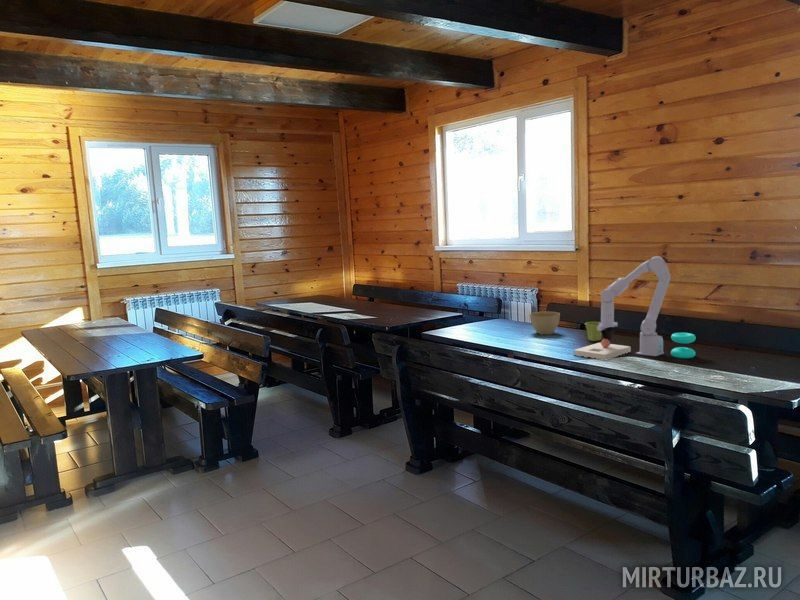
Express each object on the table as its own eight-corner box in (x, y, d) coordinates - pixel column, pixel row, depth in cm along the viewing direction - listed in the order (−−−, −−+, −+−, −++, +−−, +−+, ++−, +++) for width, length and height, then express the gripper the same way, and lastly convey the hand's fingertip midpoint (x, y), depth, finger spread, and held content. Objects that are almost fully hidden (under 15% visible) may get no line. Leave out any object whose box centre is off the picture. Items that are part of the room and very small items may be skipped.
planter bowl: (531, 330, 356) (531, 311, 355) (561, 331, 351) (560, 311, 350) (528, 335, 341) (528, 315, 339) (559, 336, 336) (558, 316, 334)
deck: (630, 351, 291) (630, 346, 291) (605, 360, 277) (605, 354, 277) (599, 347, 303) (599, 342, 303) (573, 355, 289) (573, 350, 289)
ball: (612, 344, 292) (610, 337, 291) (608, 349, 290) (606, 342, 288) (605, 344, 295) (602, 336, 294) (600, 348, 293) (598, 341, 291)
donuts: (669, 335, 275) (672, 331, 284) (669, 357, 276) (672, 353, 285) (694, 336, 270) (697, 332, 279) (694, 359, 271) (696, 355, 280)
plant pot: (583, 341, 320) (583, 324, 319) (586, 337, 328) (586, 321, 327) (602, 342, 316) (602, 325, 315) (605, 338, 324) (605, 322, 323)
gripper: (608, 312, 299) (607, 340, 301) (591, 316, 289) (590, 345, 291) (621, 313, 294) (621, 342, 295) (604, 317, 284) (604, 347, 286)
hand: (607, 343), depth 293 cm, fingers closed, pressing on ball
